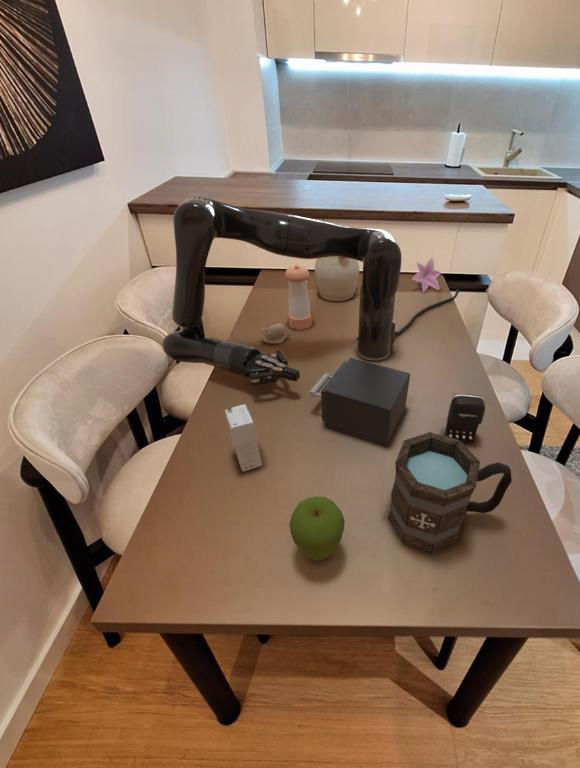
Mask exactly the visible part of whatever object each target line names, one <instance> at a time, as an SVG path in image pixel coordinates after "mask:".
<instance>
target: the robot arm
mask: <svg viewBox="0 0 580 768" xmlns="http://www.w3.org/2000/svg"><path fill="white" fill-rule="evenodd" d="M172 216H173V217H172V221H173V232H174V233H173V235H174V242H175V279H174V288H173V295H172V296H173V298H172V299H173V300H172V308H171V319H172V321H173V322H174V324H176V325H177V326H179V327H181V329H179V330H176V331H173V332H171V333H169V334H167V335H166V336H165V337H164V338H163V339H162V343H161V347H162V350H163V352H164V354H165V355H166V356H167V357H169V358H170V359H171V360H174V361H176V362H181V363H190V364H205V365H208V366H211V367H214V368H215V367H216V368H218V369H220V370H222V371H225V372H228V373H231V374H234V375H237V376H240V377H243V378H250V384H251V386H260V385H267V384H275V383H277V382H278V380H282V379H284V380H288V381H290V382H297V381H298V380H299V379H300V378H301V377H300V376H301V374H300V373H301V372H300V371H299V369H297V368H293V367H289V364H288V362H289V361H288V359H287V358H286V357H285V355H284V354H283V352H282V351H281V350H279V349H278V350H275V353H273V354H270V353H267V352H266V353H264V352H261V351H260V350H259V349H258V348H256V347H253V346H249V345H246V344H243V343H239V342H235V341H229V340H224V339H220V338H217V337H213V336H206V334H205V328H204V322H203V314H204V307H205V299H206V283H205V282H206V280H205V279H206V268H207V267H206V266H207V260H208V257H209V254H210V250H211V248H212V244H213V242H214V240H215V239H226V240H235V241H241V242H245V243H248V244H250V245H252V246H255V247H258V248H259V249H261V250H264V251H266V252H269V253H272V254H274V255H278V256H282V257H287V258H294V259H299V260H315V259H316V260H317V258H324V257H333V256H338V257H346V258H350V259H355V260H358V262H361V263H362V279H361V285H360V288H359V305H358V306H359V307H358V332H357V337H356V341H357V349H356V353H357V355H358V356H359V357H360V358H361V359H364V360H366V361H371V362H379V361H383V360H386V359H387V358H388V357H390V355H391V354H393V350H394V344H395V339H396V336H399V335H401V334H402V333H403V332H404V331H405V330H407V328H409V327H410V326H411V325H412V324H413V322H414V321H415V320H416V318H418V317H419V316H420V315H421V314H423V313H425V312H426V311H428V310H431V309H433V308H435V307H437V306H440V305H443V304H445V303H448V302H451V301H453V300H455V299H456V298H457V297H458V295H459V293H460V290H459V289H456V291H455V294H454V295H453V296H452V297H450V298H447V299H444V300H441V301H439V302H436V303H434V304H432V305H429V306H427V307H425V308H423V309H422V310H419V311H418V312H417V313H416V314H415V315H414V316H412V318H411V319H410V320H409V322H408V323H407V324H406V325H404V327H403V328H401V329H400V330H399V331H396V323H395V322H394V315H395V314H394V313H395V302H396V294H397V292H398V290H399V286H400V275H401V269H402V251H401V248H400V246H399V244H398V243H397V241H396V239H395V238H394V236H393V235H392V234H390V233H389V232H388V231H386V230H383V229H376V228H375V229H374V228H361V227H350V226H346V227H343V226H339V225H335V224H333V223H331V222H326V221H322V220H317V219H312V218H308V217H304V216H299V215H295V214H294V215H293V214H288V213H281V212H274V211H268V210H260V209H251V208H244V207H239V206H235V205H232V204H229V203H226V202H222V201H218V200H216V199H212V198H210V197H209V198H208V197H206V196H200V195H194V196H193V195H192V196H190V197H187V198H185V199H184V200H183V201H182V202H181V203H180V204H179V205H178V206H177V207H176V208H175V210H174V212H173V215H172Z"/></svg>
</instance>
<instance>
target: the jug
mask: <svg viewBox="0 0 580 768" xmlns="http://www.w3.org/2000/svg"><path fill="white" fill-rule="evenodd" d="M332 224H335V225H339V226H343V227H347V226H346V224H344V223H341V222H333V223H332ZM314 275H315V280H316V286H317V289H318V290H317V291H318V292H319V296H320V297H321V298H322V299H323V300H326V301H330V302H345V301H347V300H350V299H352V298H353V296H354V294H355V291H356V288H357V285H358V280H359V275H360V263H359V261H358V260H355V259H350V258H346V257H338V256H333V257H324V258H317V259H316V260H315V263H314Z"/></svg>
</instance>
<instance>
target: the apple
mask: <svg viewBox="0 0 580 768" xmlns="http://www.w3.org/2000/svg"><path fill="white" fill-rule="evenodd" d="M288 525H289V531H290V535H291V539H292V540H293V543H294V544H295V546H297V548H298V549H299V550H300V552H301V553H303V555H304V556H305V558H308V559H310V560H313V561H323V560H326V559H327V558H329V557H330V556H331V555H332V554H333V553H334V552H335V551H336V550H337V549H338V546H339V545H340V543H341V540H342V538H343V534H344V531H345V517H344V514H343V512H342V510H341V509H340V508H339V506H338V505H337V504H336V503H335V502H334V500H332V499H330V498H328V497H326V496H319V495H318V496H317V495H315V496H311V497H307V498H305V499H303V500H301V501H299V502H298V504H297V505H296V507H295V508H294V510H293V511H292V514H291V517H290V520H289V524H288Z"/></svg>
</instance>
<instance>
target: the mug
mask: <svg viewBox="0 0 580 768" xmlns="http://www.w3.org/2000/svg"><path fill="white" fill-rule="evenodd" d="M394 465H395V476H394V483H393V486H392V490H391V494H390V497H391V498H390V500H391V501H390V508H389V513H388V515H387V520H388V522H389V524H390V525H391V527H392V528H393V530H394V532H395V534H396V535H397V537H398V539H399V540H400V541H401V543H402V544H405V545H407V546H410V547H413V548H416V549H419V550H422V551H425V552H427V553H431V554H433V553H435V552H438V551H440V550H441V549H444V548H446V547H449V546H451V545H453V544H455V543H457V542H458V537H459V532H460V529H461V526H462V523H463V522H464V520H465V518H466V516H467V512H473V513H478V514H486V513H491V512H493V511H494V510H495V509H496V508H498V507H499V505H500V504H501V502H502V500H503V498H504V496H505V494H506V491H507V490H508V488H509V486H510V485H511V483H512V479H513V478H512V470H511V467H510V466H509V465H507V464H504V463H501V462H494V463H490V464H487V465H486V466H484V467H482V468H481V469H480V465H481V461H480V460H479V459H478V458H477V456H475V455H474V454H473V452H472V451H471V450H470V449H469V448H468V447H467V446H466V445H465V443H464V442H461V441H460V440H457V439H454V438H450V437H446V436H445V435H442V434H439V433H436V432H431V431H429V432H425V433H423V434H420V435H417V436H414V437H411V438H408V439H407V438H406V439H404V440H403V442H402V444H401V447H400V449H399V452H398V454H397V458H396V459H395V463H394ZM499 474H503V475H502V477H501V478H500V480H499V481H498V483H497V485H496V487H495V490H494V492H493V495H492V496H491V497H490V498H489V499H488V500H487V501H483V502H476V501H471V500H470V499H471V497H472V495H473V493H474V491H475V490H476V488H477V483H478V482H482V481H484V480H487V479H489V478H491V477H492V476H494V475H499Z"/></svg>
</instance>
